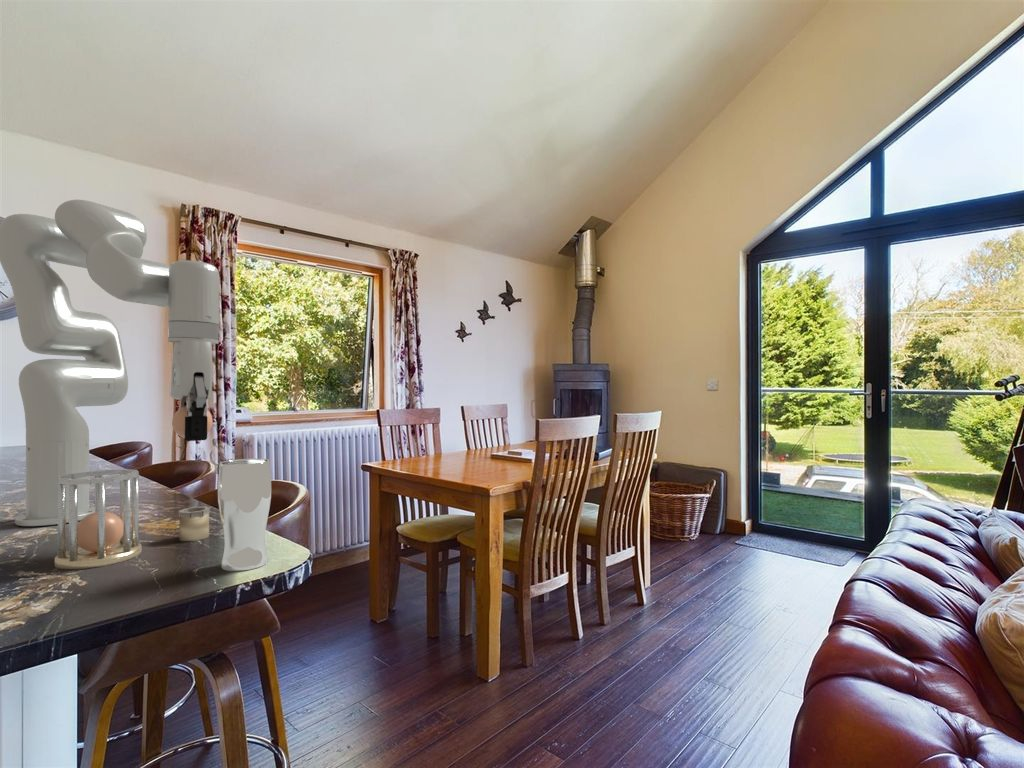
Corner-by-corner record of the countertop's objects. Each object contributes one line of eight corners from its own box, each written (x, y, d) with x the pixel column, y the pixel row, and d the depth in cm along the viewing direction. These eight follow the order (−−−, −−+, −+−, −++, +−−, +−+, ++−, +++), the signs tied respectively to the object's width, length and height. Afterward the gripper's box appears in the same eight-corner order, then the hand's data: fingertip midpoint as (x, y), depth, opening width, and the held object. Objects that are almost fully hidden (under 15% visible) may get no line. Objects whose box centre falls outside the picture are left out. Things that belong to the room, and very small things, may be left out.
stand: (177, 537, 91) (177, 509, 92) (206, 532, 94) (206, 505, 94) (181, 542, 88) (181, 513, 88) (211, 537, 91) (211, 509, 91)
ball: (73, 550, 81) (73, 511, 81) (122, 542, 85) (122, 505, 85) (74, 560, 76) (74, 518, 76) (125, 551, 80) (125, 512, 80)
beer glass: (213, 563, 78) (213, 461, 78) (264, 553, 82) (263, 457, 82) (224, 576, 72) (223, 466, 72) (277, 565, 77) (277, 461, 77)
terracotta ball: (169, 438, 92) (169, 404, 92) (208, 436, 96) (208, 403, 96) (174, 441, 87) (175, 405, 87) (215, 439, 91) (216, 405, 91)
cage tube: (55, 556, 81) (55, 473, 81) (137, 543, 88) (137, 466, 88) (54, 574, 73) (54, 482, 73) (145, 558, 80) (145, 474, 80)
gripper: (160, 335, 96) (159, 435, 96) (176, 329, 82) (174, 444, 82) (208, 338, 100) (206, 433, 101) (229, 332, 87) (228, 442, 87)
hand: (192, 437), depth 92 cm, fingers closed on terracotta ball, 5 cm apart
